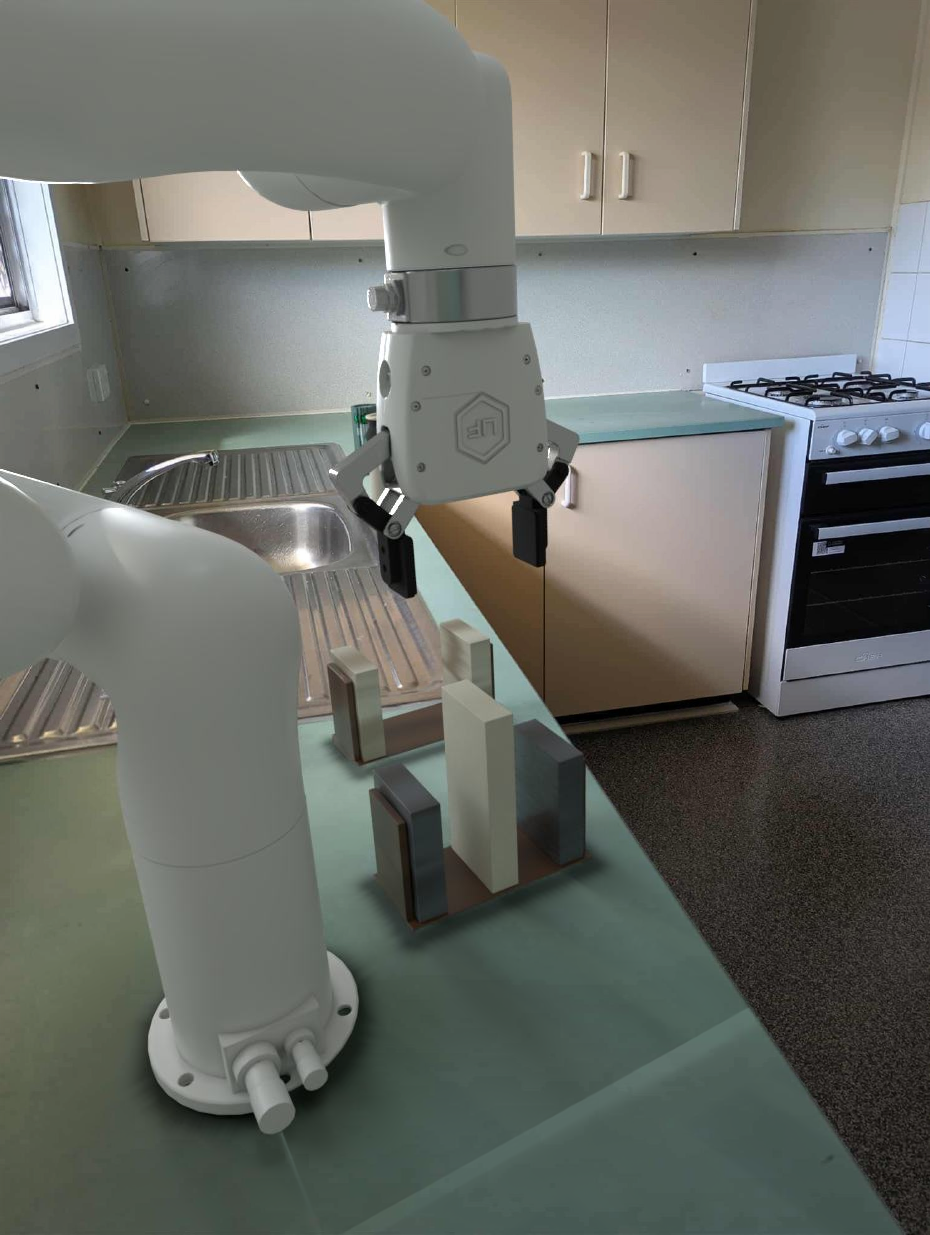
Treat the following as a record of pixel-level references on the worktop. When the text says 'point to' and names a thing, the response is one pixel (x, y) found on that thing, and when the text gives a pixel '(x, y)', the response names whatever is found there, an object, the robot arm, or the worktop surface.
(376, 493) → the travel mug
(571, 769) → the grey rack
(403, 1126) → the worktop surface
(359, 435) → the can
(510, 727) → the white book
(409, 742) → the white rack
